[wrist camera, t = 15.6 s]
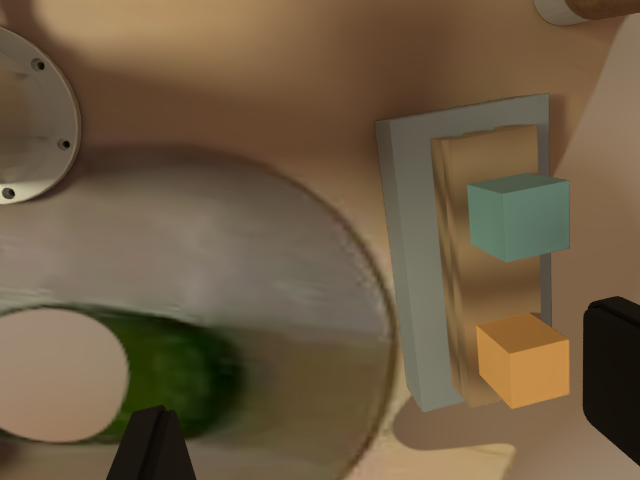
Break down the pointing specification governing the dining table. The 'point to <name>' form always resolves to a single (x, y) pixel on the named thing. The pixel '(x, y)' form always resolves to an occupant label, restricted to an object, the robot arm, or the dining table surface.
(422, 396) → the dock
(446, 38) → the dining table surface
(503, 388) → the orange cube
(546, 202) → the teal cube
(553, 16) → the coffee cup
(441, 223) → the brown wooden block
